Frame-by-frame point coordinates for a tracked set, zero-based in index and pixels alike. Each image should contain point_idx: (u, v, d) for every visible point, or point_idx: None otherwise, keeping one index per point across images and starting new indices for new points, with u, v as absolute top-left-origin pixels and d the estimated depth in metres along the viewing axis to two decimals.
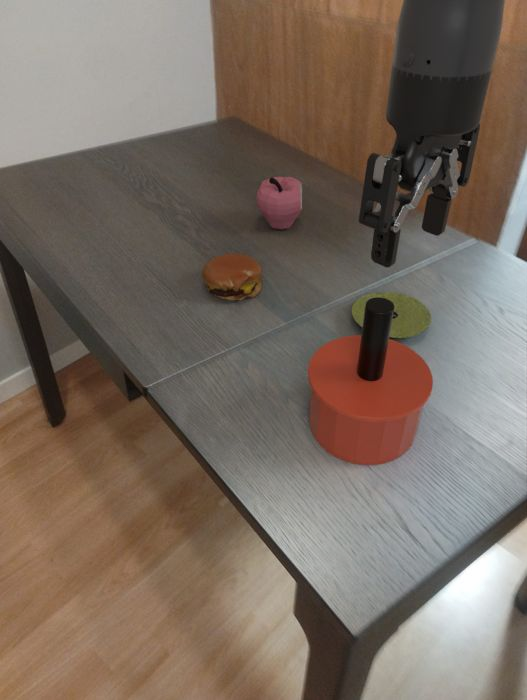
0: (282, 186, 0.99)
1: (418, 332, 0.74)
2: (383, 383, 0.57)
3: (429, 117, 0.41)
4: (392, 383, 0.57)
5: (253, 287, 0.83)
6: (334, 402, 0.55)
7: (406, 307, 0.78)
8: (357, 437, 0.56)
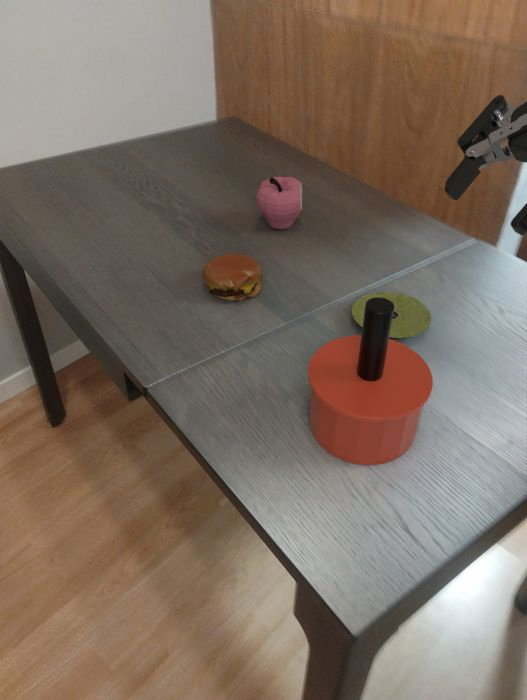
0: (282, 186, 0.99)
1: (418, 332, 0.74)
2: (383, 383, 0.57)
3: None
4: (392, 383, 0.57)
5: (253, 287, 0.83)
6: (334, 402, 0.55)
7: (406, 307, 0.78)
8: (357, 437, 0.56)
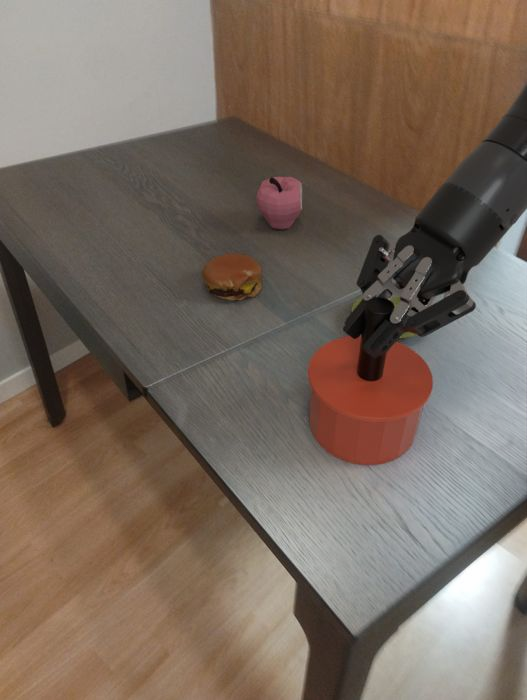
0: (282, 186, 0.99)
1: None
2: (383, 383, 0.57)
3: None
4: (392, 383, 0.57)
5: (253, 287, 0.83)
6: (334, 403, 0.55)
7: None
8: (357, 437, 0.56)
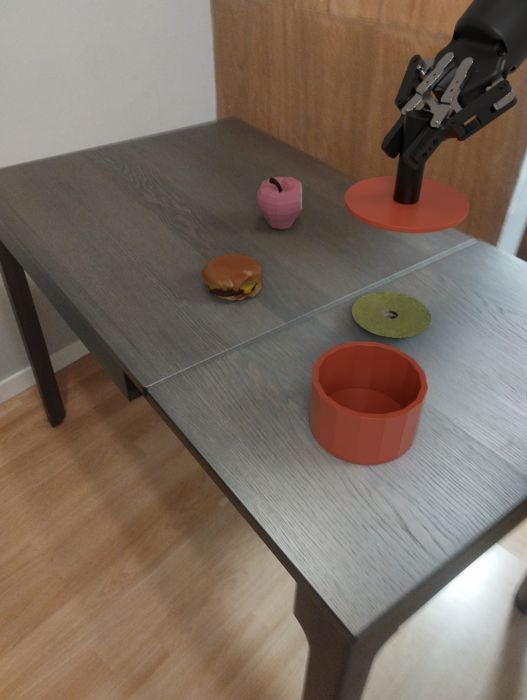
0: (282, 186, 0.99)
1: (418, 332, 0.74)
2: (420, 205, 0.58)
3: None
4: (429, 205, 0.58)
5: (253, 287, 0.83)
6: (373, 218, 0.55)
7: (406, 307, 0.78)
8: (357, 437, 0.56)
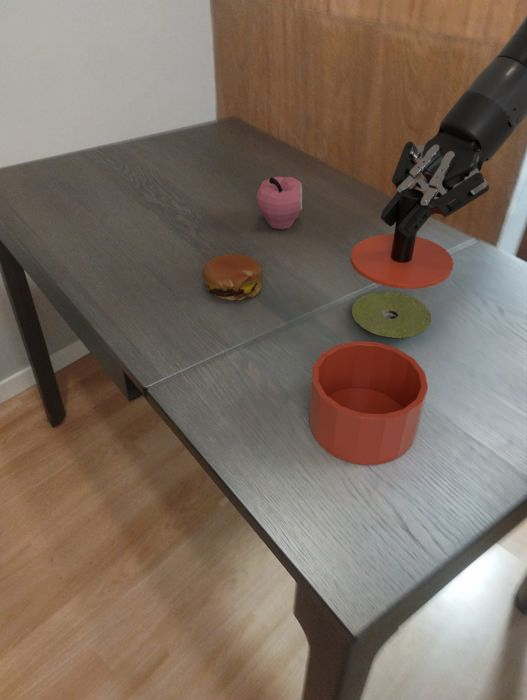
0: (282, 186, 0.99)
1: (418, 332, 0.74)
2: (413, 264, 0.70)
3: None
4: (420, 264, 0.70)
5: (253, 287, 0.83)
6: (374, 276, 0.68)
7: (406, 307, 0.78)
8: (357, 437, 0.56)
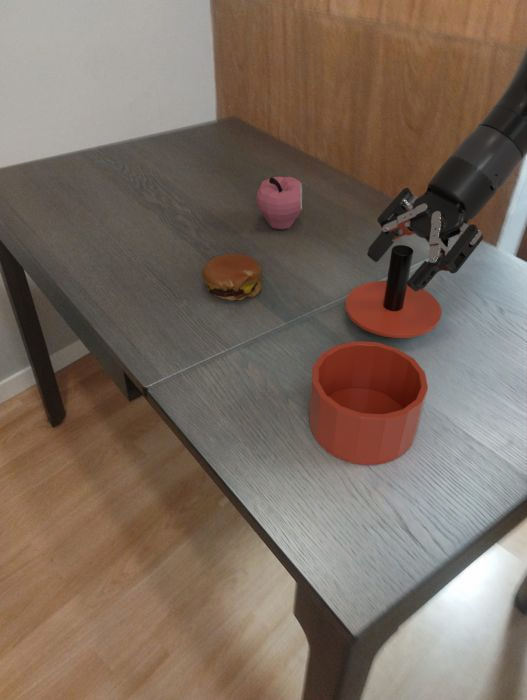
0: (282, 186, 0.99)
1: None
2: (403, 312, 0.75)
3: None
4: (410, 312, 0.75)
5: (253, 287, 0.83)
6: (367, 325, 0.73)
7: None
8: (357, 437, 0.56)
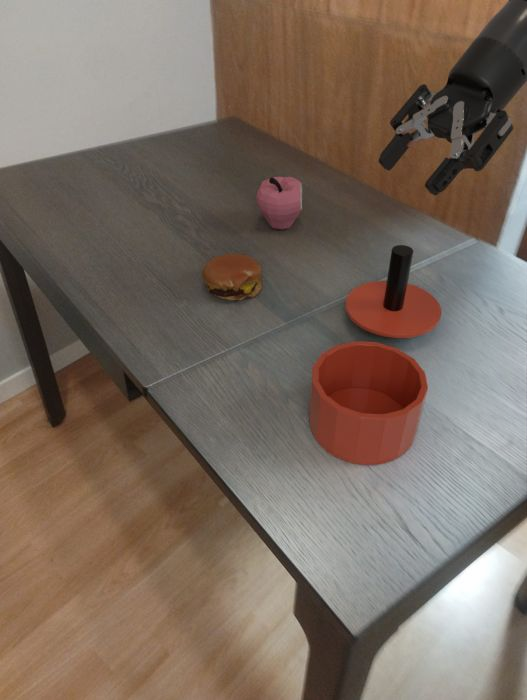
0: (282, 186, 0.99)
1: None
2: (403, 312, 0.75)
3: None
4: (410, 312, 0.75)
5: (253, 287, 0.83)
6: (367, 325, 0.73)
7: None
8: (357, 437, 0.56)
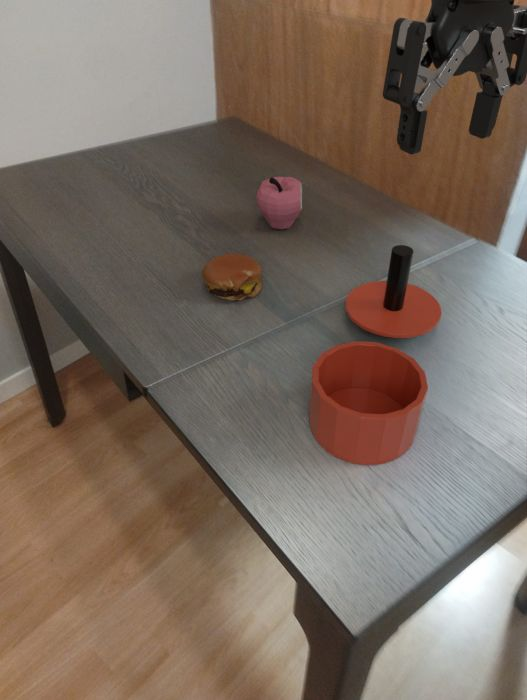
0: (282, 186, 0.99)
1: None
2: (403, 312, 0.75)
3: None
4: (410, 312, 0.75)
5: (253, 287, 0.83)
6: (367, 325, 0.73)
7: None
8: (357, 437, 0.56)
